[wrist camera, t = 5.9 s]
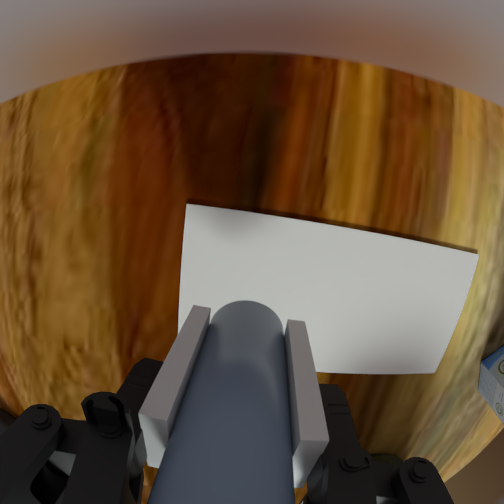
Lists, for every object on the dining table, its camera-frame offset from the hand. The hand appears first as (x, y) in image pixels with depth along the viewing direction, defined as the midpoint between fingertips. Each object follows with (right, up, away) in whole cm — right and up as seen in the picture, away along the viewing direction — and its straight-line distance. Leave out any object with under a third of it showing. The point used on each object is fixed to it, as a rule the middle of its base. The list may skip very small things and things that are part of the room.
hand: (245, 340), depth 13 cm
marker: (0, 0, 0) cm, 1 cm away
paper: (+6, 0, +5) cm, 8 cm away
